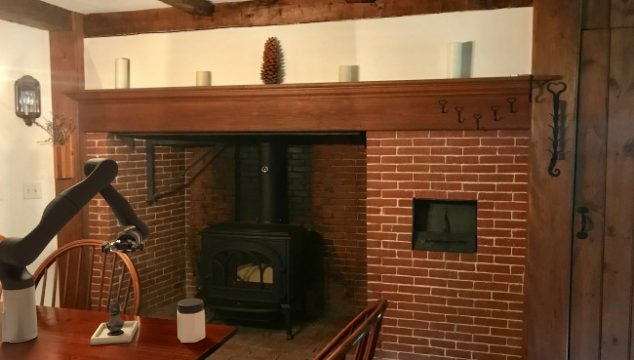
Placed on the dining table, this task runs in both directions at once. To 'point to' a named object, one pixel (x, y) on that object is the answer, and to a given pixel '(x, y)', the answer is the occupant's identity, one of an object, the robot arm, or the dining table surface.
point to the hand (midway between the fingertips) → (119, 250)
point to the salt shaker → (115, 320)
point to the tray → (103, 338)
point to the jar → (191, 320)
